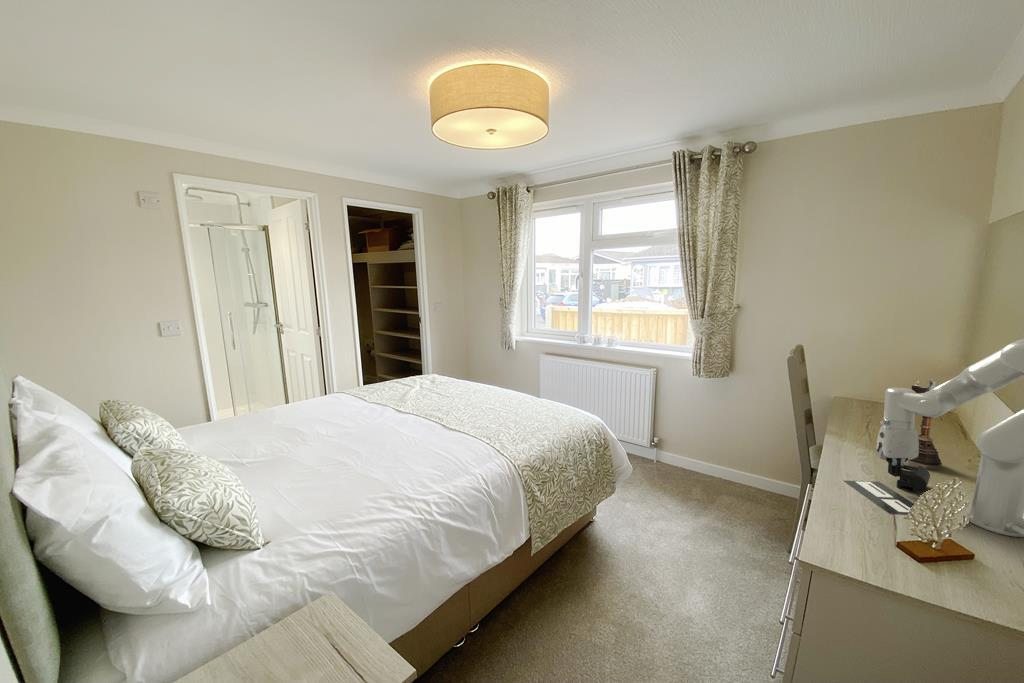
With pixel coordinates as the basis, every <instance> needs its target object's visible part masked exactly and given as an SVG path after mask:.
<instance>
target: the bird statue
mask: <svg viewBox="0 0 1024 683" xmlns="http://www.w3.org/2000/svg"><path fill="white" fill-rule="evenodd" d="M921 384H922V383H920V380H917V382H915V384H912V385H911V390H913V391H915V392H916V393H918V394H920V393H925V392H928V391H930V390H932V389H934V388H936V380H935V379H931V378H930V379H929V386H928V387H925V386H920V385H921ZM921 417H922V420H921V424H920V425H919V427H920V434H918V441H919V453H918V457H916V458H914V459H911V460H907V461H906V462H905V465H908V466H912V467H916V468H918V467H919V466H921V467H923V468H925V469H926V470H927V471H929V470H931V471H933V470H934V471H940V470H941V468H942V465H943V462H942V460H941V459H940V457H939V452H938V451H937V450H938V449H937V448H935V445H934V443H933V441H934V439H932V438H931V436H930V429H932V427H931V425H932V419H933V417H925V416H921Z"/></svg>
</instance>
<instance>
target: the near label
mask: <svg viewBox="0 0 1024 683" xmlns="http://www.w3.org/2000/svg"><path fill="white" fill-rule="evenodd" d="M881 500H882V501H884V502H885V503H887V504H888V505H890V506H891V507H893V508H894V509H896V510H897V511H899V512H909V510H910V509H911V508H909V507H908V506H906V505H905V504H903V503H902V502H900V501H898V500H888V499H881Z"/></svg>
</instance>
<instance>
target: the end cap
mask: <svg viewBox="0 0 1024 683" xmlns="http://www.w3.org/2000/svg"><path fill="white" fill-rule="evenodd" d="M930 479H931V474H930V472H929V470H928V469H925V468H923V467H921V466H919V467H915V466H911V465H908V464H904V465H903V466H902V470H901V477H899V478H898V479H897V480H896V488H897V489H900V490H903V491H907V492H911V493H915V494H916V493H920V492H923V491H925V490H926V489H927V488H928V484H929V482H930Z"/></svg>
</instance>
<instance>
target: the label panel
mask: <svg viewBox="0 0 1024 683" xmlns="http://www.w3.org/2000/svg"><path fill="white" fill-rule="evenodd" d="M855 481H856V480H843V482H844V483H846V484H847V485H849V486H851V488H853V489H854V490H856V491H857V492H858V493H860V494H862V496H864V497H866V498H867V499H868V500H869V501H871V502H873V504H876V506H878V507H879V508H881V509H882V510H884V511H885V512H886V513H887V514H890V515H891V514H892V515H893V514H894V515H909V514H908V513H909V512H899V511H897V510H896V509H894V508H893V507H891V506H890V505H888V504H887V503H885V502H884V501H882V500H881V499H888V500H898V501H900V502H902V503H903V504H905V505H906V506H908V507H909V508H911V507H912V506H913V505H914V504H915V503H914V502H912V501H911V500H909V499H908V498H906V497H904V496H903V495H902V494H900V493H898V492H897V491H895V490H894V489H891V488H890V487H888V486H887V485H885V484H884V483H882V482H881V481H870V480H869V481H865V480H864V481H863V480H857V481H858V482H871V483H872V484H874V485H876V486H877V487H879V488H880V489H882V490H883V491H885V492H886V493H888V494H889V495H891V496H892V497H894V498H891V497H877V496H875V495H874V494H872V493H871V492H869V491H868V490H866V489H865V488H864V487H862V486H861V485H859V484H858V483H856V482H855Z"/></svg>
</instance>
